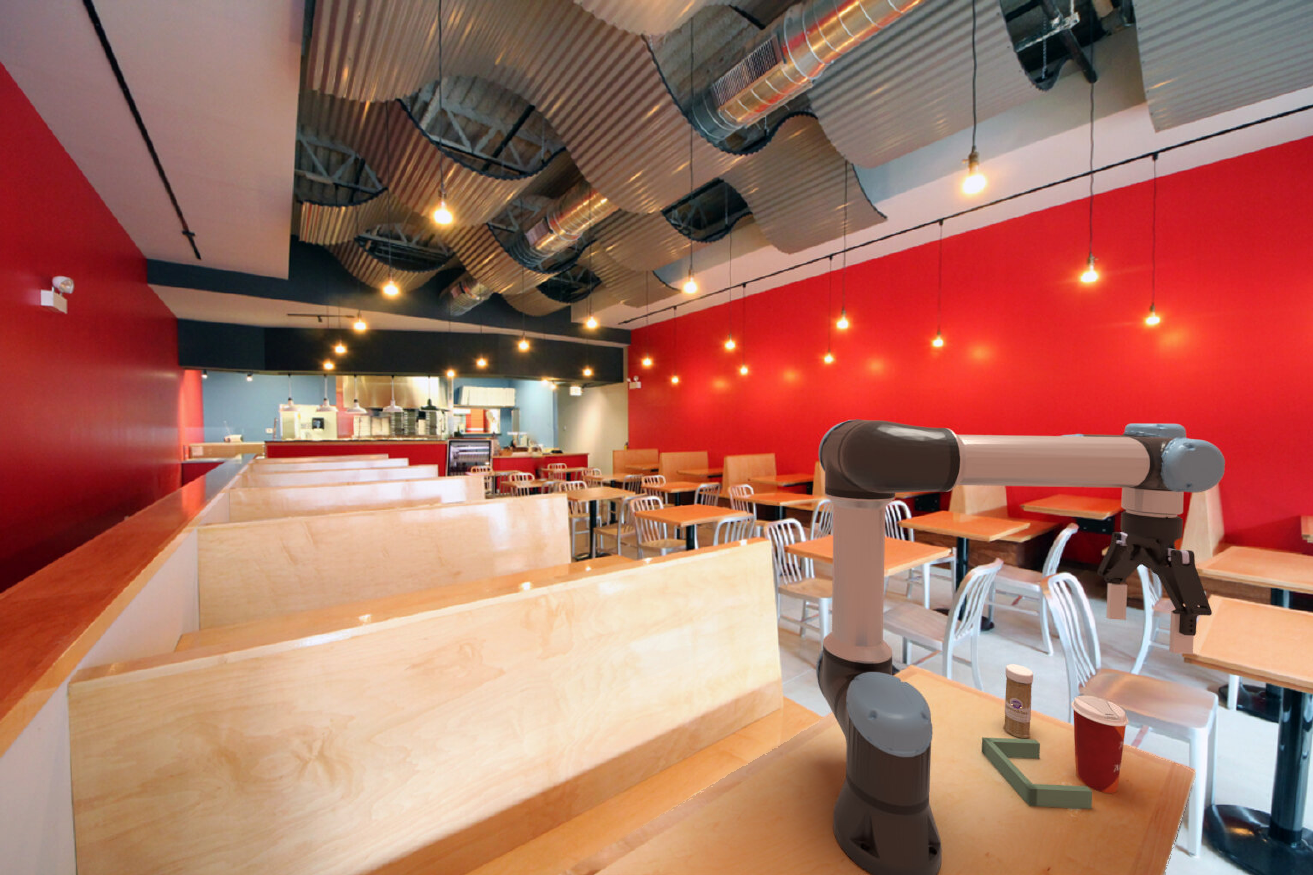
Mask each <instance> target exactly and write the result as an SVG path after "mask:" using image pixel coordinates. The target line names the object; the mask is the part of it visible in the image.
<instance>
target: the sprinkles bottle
mask: <svg viewBox="0 0 1313 875" xmlns="http://www.w3.org/2000/svg"><path fill="white" fill-rule="evenodd" d="M1005 677H1006V680H1005V696H1004V697H1005V699H1004V724H1003V729H1004V730H1005V731H1006V732H1007V733H1008V734H1010V735H1012V736H1014V737H1017V738H1018V739H1029V738H1030V736H1031V732H1030V731H1031V718H1032V714H1031V713H1032V684H1033V682H1034V673H1033V671H1032V670H1031V669H1029V668H1027V667H1025V666H1023V665H1020V664H1015V663H1014V664H1007V665H1006V667H1005ZM1011 704H1013V705H1011ZM1020 707H1022V708H1020Z"/></svg>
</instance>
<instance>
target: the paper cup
mask: <svg viewBox="0 0 1313 875" xmlns="http://www.w3.org/2000/svg"><path fill="white" fill-rule="evenodd" d="M1070 704H1071V705H1070V706H1071V708H1072V709H1073V732H1074V733H1073V734H1074V737H1073V739H1074V757H1075V758H1074V760H1075V761H1074V764H1075V776H1076V778H1078V780H1079V781H1080V782H1081V783H1082V784H1084V786H1087V787H1088V788H1089V789H1091V790H1092V789H1093V790H1096V791H1098V792H1101V793H1106V794H1114V793H1116V792H1117V791H1118V787H1119V782H1120V776H1121V769H1122V768H1121V767H1122V759H1123V753H1124V752H1123V751H1124V745H1125V744H1124V743H1125V736H1126V735H1125V734H1126V727H1127V725H1129V723H1130V721H1129V718H1128V717H1127V714H1126V711H1125V710H1124V709H1123V708H1122V707H1120V706H1119V705H1118V704H1116V703H1114V702H1111V701H1109V700H1107V699H1104V698H1099V697H1096V696H1092V695H1084V694H1083V695H1078V696H1075V698H1074V700H1073V701H1072V702H1071V703H1070Z"/></svg>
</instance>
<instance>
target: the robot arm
mask: <svg viewBox="0 0 1313 875" xmlns="http://www.w3.org/2000/svg"><path fill="white" fill-rule="evenodd" d="M818 460H819V463H820V467H821V469H822V470H823V471H824V495H825V496H826V498H827V499H829V500H830V502H831V503H832V504H833V505H832V506H833V507H832V508H833V514H832V516H833V517H832V518H833V520H832V523H833V524H832V582H831V583H832V587H831V588H832V589H831V590H832V594H831V595H832V597H831V599H832V600H831V601H832V603H831V632H830V633H828V634H827V635H825V637H824V638H823V641H822V650H821V651H820V652H819V654H818V657H817V660H816V665H815V673H816V679H817V685H818V687H819V689H820V692H821V694H822V696H823V697H824V699H825V701H826V702H827V704H828V706H829V708H830V710H831V711H832V713H833V716H834V718H835V720H836V721H837V723H838V726H839V727H840V729H841V731H842V734H843V735H844V737H845V743H846V755H845V756H846V757H845V763H846V764H845V773H846V774H845V779H844V782H843V784H842V786H841V788H840V792H839V794H838V795H837V796H838V797H837V799H836V801H835V804H834V807H833V812H832V813H833V816H832V817H833V820H832V823H833V824H832V828H833V833H834V837H835V839H836V841H837V843H838V845H839V846H840V848H841V849H842V850H843V851H844V853H845V854H846V855H847V856H848V857H849V859H851V860H852V861H853V862H854V863H855V864H857V865H858V866H859V867H860V868H862V869H863V870H865V871H866V872H868V873H869V874H872V875H937V874H938V873H939V872H940V869H941V866H942V841H941V840H942V839H941V837H940V833H939V830H938V828H937V827H938V826H937V824H936V820H935V818H934V817H935V816H934V814H933V811H932V808H931V805H930V786H931V785H930V784H931V782H930V781H931V759H932V758H931V756H932V740H933V733H934V732H933V723H932V716H931V714H932V713H931V708H930V705H929V704H928V702H927V700H926V698H925V697H924V695H923V694H922V693H921V692H920V691H919V690H918V689H917V688H916V687H915V686H914V685H913V684H911V683H909V682H908V681H902V680H901V678H900V677H897V676H895V675H893V649H892V648H891V646H889V644H888V643H887V642H886V641H885V640H884V606H885V604H884V602H885V601H884V599H885V597H884V596H885V594H884V592H885V549H886V548H885V546H886V545H885V544H886V537H885V536H886V507H887V506H888V505H890V503H891V502H893V501H894V500H895V499H896V494H898V493H900V494H901V493H902V494H903V493H904V494H905V493H928V492H929V493H931V492H933V493H935V492H939V493H941V492H942V493H945V492H946V493H947V492H950V491H953V489H954V488H956V487H957V486H987V487H988V486H992V487H993V486H995V487H996V486H997V487H1000V486H1001V487H1052V488H1053V487H1058V488H1059V487H1061V488H1062V487H1064V488H1066V487H1069V488H1070V487H1071V488H1082V487H1083V488H1121V489H1122V490H1121V501H1120V502H1121V503H1120V504H1121V505H1120V507H1121V508H1122V509H1123V510H1124V511H1122V512H1121V513H1120V531H1121V532H1119V531H1114V532H1112V534H1111V539H1110V541H1111V542H1110V544H1109V546H1108V548H1107V550H1106V552H1105V555H1104V557H1103V558H1102V561H1101V562H1100V565H1099V566H1098V569H1097V575H1098V576H1102V577H1103V578H1104V581H1105V582H1106V618H1107V619H1109V620H1122V621H1123V620H1124V621H1126V619H1127V599H1128V584H1127V583H1128V581H1127V579H1128V578H1129V577H1130V576H1131V575H1132V574H1133V573H1134V572H1135V570H1137V569H1138V567H1139V566H1144V567H1145V568H1147V569H1150V570H1151V572H1152V573H1153V574H1155V575H1156V576H1157V577H1158V579H1159V580H1160V583H1161V584H1162V586H1163V589H1164V590H1165V592H1166V594H1167V596H1168V598H1169V600H1170V601H1171V603H1172V606H1173V608H1174V609H1173V610H1171V611H1170V626H1169V628H1170V630H1169V647H1168V652H1169V653H1170V652H1171V653H1172V654H1182V655H1183V654H1184V655H1194V637H1195V636H1196V634H1197V622H1198V621H1197V620H1198V619H1197V618H1198V617H1199V616H1211V615H1212V614H1213V613H1212V612H1213V611H1212V609H1211V606H1210V603H1209V601H1208V596H1207V595H1206V593H1205V590H1204V589H1205V588H1204V587H1203V584H1202V581H1201V579H1200V575H1199V573H1198V570H1197V567H1196V561H1195V556H1196V555H1195V552H1194V551H1193V550H1189V549H1177V548H1176V546H1175V545H1176V544H1175V542H1176V541H1177V540H1181V539H1182V537H1183V526H1184V524H1183V523H1184V520H1183V518H1182V517H1181V516H1179V515H1181V514H1183V513H1184V495H1185V494H1184V492H1185V493H1202V492H1207V491H1208V490H1211V489H1213V488H1214V487H1215V486H1216V485H1218V484H1219V483H1220V482H1221V480H1222V479H1223V476H1224V474H1225V467H1226V466H1225V464H1226V460H1225V457H1224V455H1223V453H1222V451H1221V450H1220V449H1219V447H1217V446H1216V445H1214V444H1213V443H1212V442H1209V441H1207V440H1203V439H1195V438H1188V437H1187V431H1186V428H1185V426H1183V425H1181V424H1179V423H1128V424H1127V425H1126V426H1125V428H1124V432H1123V434H1084V433H1083V434H1082V433H1075V434H1063V435H1055V436H1054V435H1001V434H999V435H998V434H997V435H993V434H985V435H984V434H956V433H955V432H954V431H953V430H952V429H950V428H946V427H929V426H928V427H927V426H918V425H911V424H905V423H900V422H893V421H887V420H878V419H877V420H871V419H870V420H869V419H848V420H846V421H843V422H840V423H837V424H835V425H833V426H832V427H831V428H829V430H828V431H827V432H826V433H825V434H824V435H823V437H822V439H821V440H820V443H819V446H818Z"/></svg>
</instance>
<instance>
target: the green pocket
mask: <svg viewBox="0 0 1313 875" xmlns="http://www.w3.org/2000/svg"><path fill="white" fill-rule="evenodd" d="M981 741H982V742H981V753H982V754H983V755H984V757H985V758H986V759H987V760H988V762H990V763H991V764H992V765H993V767H994V768H995V769H996V771H998V773H999V774H1000V775H1001V776H1002V778H1004V779H1005V781H1007V782H1008V784H1009V785H1010V786H1011V787H1012V788H1013V790H1014V791H1015V792H1017V794H1018V795H1019V797H1021V799H1022V800H1023V801H1024V802H1025V803H1026V804H1027V805H1028V806H1029V807H1041V808H1042V807H1043V808H1060V809H1061V808H1063V809H1064V808H1065V809H1083V810H1084V809H1085V810H1092V809H1093V806H1092V805H1093V791H1092V789H1091V788H1090V787H1088V786H1087V785H1071V784H1069V785H1068V784H1063V785H1062V784H1048V783H1047V784H1046V783H1043V784H1041V783H1032V782H1031V781H1030V780H1029V778H1028V777H1027V776H1026V775H1025V774H1024V773H1023V772H1022V771H1021V770H1020V769H1019V768H1018V767H1017V766H1016V765H1015V764H1014V762H1013V761H1011V760H1010V758H1013V759H1033V760H1034V759H1035V760H1036V759H1037V760H1039V759H1040V757H1041V755H1040V754H1041V743H1040V742H1039V741H1038V740H1037V739H1034V738H1033V739H1032V738H1030V739H1029V738H1007V737H984V736H983V737H981Z"/></svg>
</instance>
